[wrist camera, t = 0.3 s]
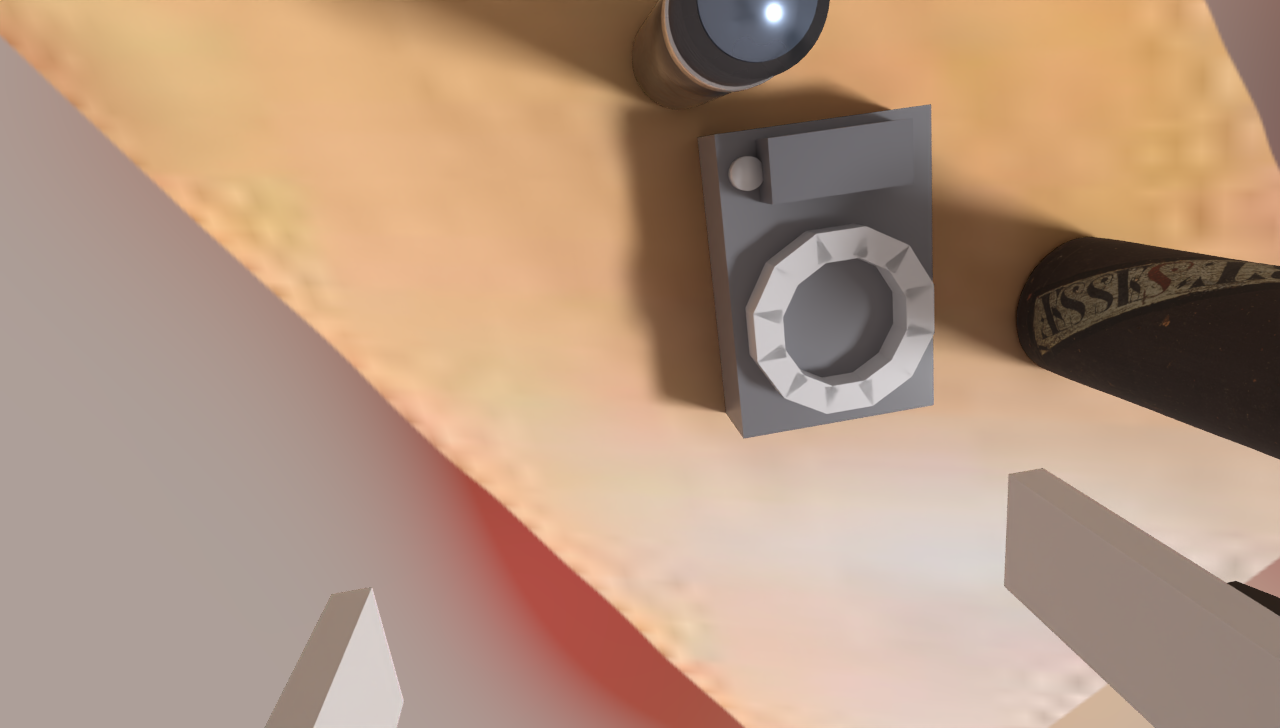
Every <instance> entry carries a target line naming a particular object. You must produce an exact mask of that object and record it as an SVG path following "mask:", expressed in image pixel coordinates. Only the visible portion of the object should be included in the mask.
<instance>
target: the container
mask: <svg viewBox="0 0 1280 728" xmlns="http://www.w3.org/2000/svg"><path fill="white" fill-rule="evenodd" d="M1017 332H1018V337H1019V340H1020V343H1021V346H1022V348H1023V349H1024V351H1025V353H1026V354H1027V355H1028V357H1029V358H1030V359H1031V360H1032V361H1033V362H1034V363H1036V364H1037V365H1039V366H1040V367H1042V368H1044V369H1046V370H1048V371H1051V372H1053V373H1055V374H1058V375H1060V376H1063V377H1065V378H1068V379H1070V380H1073V381H1076V382H1078V383H1081V384H1083V385H1086V386H1089V387H1091V388H1094V389H1097V390H1099V391H1102V392H1105V393H1108V394H1110V395H1113V396H1116V397H1119V398H1121V399H1124V400H1126V401H1129V402H1132V403H1134V404H1137V405H1139V406H1142V407H1145V408H1148V409H1150V410H1153V411H1155V412H1158V413H1160V414H1163V415H1165V416H1168V417H1170V418H1173V419H1176V420H1178V421H1181V422H1184V423H1186V424H1189V425H1191V426H1194V427H1197V428H1199V429H1202V430H1204V431H1207V432H1210V433H1212V434H1215V435H1217V436H1220V437H1222V438H1225V439H1228V440H1231V441H1233V442H1236V443H1239V444H1242V445H1244V446H1247V447H1250V448H1252V449H1255V450H1257V451H1260V452H1262V453H1264V454H1267V455H1270V456H1272V457H1275V458H1278V459H1280V266H1275V265H1268V264H1262V263H1255V262H1248V261H1242V260H1235V259H1228V258H1223V257H1217V256H1211V255H1205V254H1199V253H1193V252H1187V251H1180V250H1174V249H1168V248H1162V247H1156V246H1150V245H1144V244H1139V243H1132V242H1126V241H1120V240H1112V239H1105V238H1095V237H1084V238H1078V239H1074V240H1071V241H1069V242H1066V243H1064V244H1063V245H1061V246H1059V247H1057V248H1056V249H1055V250H1054V251H1052V252H1051V253H1050V254H1049V255H1047V256H1046V257H1045V258H1044V259H1043V260H1042V261H1041V262H1040V263H1039V265H1038V266H1037V267H1036V268H1035V269H1034V271H1033V272H1032V274H1031V275H1030V277H1029V279H1028V281H1027V283H1026V285H1025V287H1024V289H1023V291H1022V293H1021V296H1020V300H1019V304H1018V309H1017Z"/></svg>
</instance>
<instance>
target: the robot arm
mask: <svg viewBox="0 0 1280 728" xmlns="http://www.w3.org/2000/svg"><path fill="white" fill-rule="evenodd" d="M1004 586H1005V587H1006V588H1007V589H1008V590H1009V591H1010V592H1011V593H1012V594H1013V595H1014V596H1015V597H1016V598H1017V599H1018V600H1019V601H1021V602H1022V603H1023V604H1024V605H1025V606H1026V607H1027V608H1028V609H1029V610H1030V611H1031V612H1032V613H1033V614H1034V615H1035V616H1036V617H1038V618H1039V619H1040V620H1041V621H1042V622H1043V623H1044V624H1045V625H1046V626H1047V627H1048V628H1049V629H1050V630H1051V631H1052V632H1054V633H1055V634H1056V635H1057V636H1058V637H1059V638H1060V639H1061V640H1062V641H1063V642H1064V643H1065V644H1066V645H1067V646H1068V647H1070V648H1071V649H1072V650H1073V651H1074V652H1075V653H1076V654H1077V655H1078V656H1079V657H1080V658H1081V659H1082V660H1083V661H1084V662H1085V663H1087V664H1088V665H1089V666H1090V667H1091V668H1092V669H1093V670H1094V671H1095V672H1096V673H1097V674H1098V675H1099V676H1100V677H1101V678H1103V679H1104V680H1105V681H1106V682H1107V683H1108V684H1109V685H1110V686H1111V687H1112V688H1113V689H1114V690H1115V691H1116V692H1117V693H1119V694H1120V695H1121V696H1122V697H1123V698H1124V699H1125V700H1126V701H1127V702H1128V703H1129V704H1130V705H1131V706H1132V707H1133V708H1134V709H1136V710H1137V711H1138V712H1139V713H1140V714H1141V715H1142V716H1143V717H1144V718H1145V719H1146V720H1147V721H1148V722H1149V723H1151V724H1152V725H1153V726H1154V727H1155V728H1280V598H1278V597H1276V596H1273V595H1271V594H1268V593H1265V592H1263V591H1260V590H1258V589H1255V588H1253V587H1250V586H1248V585H1245V584H1242V583H1240V582H1237V581H1234V582H1229V583H1226V582H1224V581H1222V580H1221V579H1219V578H1218V577H1216V576H1214V575H1213V574H1211V573H1210V572H1208V571H1206V570H1205V569H1203V568H1202V567H1200V566H1198V565H1197V564H1195V563H1194V562H1192V561H1191V560H1189V559H1187V558H1186V557H1184V556H1183V555H1181V554H1179V553H1178V552H1176V551H1175V550H1173V549H1171V548H1170V547H1168V546H1167V545H1165V544H1163V543H1162V542H1160V541H1159V540H1157V539H1155V538H1154V537H1152V536H1151V535H1149V534H1147V533H1146V532H1144V531H1143V530H1141V529H1139V528H1138V527H1136V526H1135V525H1133V524H1131V523H1130V522H1128V521H1127V520H1125V519H1123V518H1122V517H1120V516H1119V515H1117V514H1115V513H1114V512H1112V511H1111V510H1109V509H1107V508H1106V507H1104V506H1103V505H1101V504H1099V503H1098V502H1096V501H1095V500H1093V499H1091V498H1090V497H1088V496H1087V495H1085V494H1083V493H1082V492H1080V491H1079V490H1077V489H1075V488H1074V487H1072V486H1071V485H1069V484H1067V483H1066V482H1064V481H1063V480H1061V479H1059V478H1058V477H1056V476H1055V475H1053V474H1051V473H1050V472H1048V471H1047V470H1045V469H1043V468H1041V469H1035V470H1030V471H1024V472H1018V473H1013V474H1009V479H1008V504H1007V529H1006V554H1005V578H1004ZM403 702H404V700H403V696H402V693H401V689H400V685H399V682H398V678H397V675H396V672H395V668H394V664H393V660H392V657H391V653H390V650H389V646H388V643H387V639H386V636H385V632H384V628H383V625H382V621H381V618H380V614H379V611H378V607H377V603H376V600H375V596H374V593H373V589H372V587H370V588H364V589H358V590H352V591H347V592H341V593H336V594H332V595H331V596H330V598H329V601H328V602H327V604H326V606H325V609H324V610H323V612H322V614H321V616H320V618H319V620H318V622H317V624H316V626H315V628H314V630H313V632H312V634H311V636H310V638H309V640H308V642H307V644H306V646H305V648H304V650H303V652H302V654H301V657H300V658H299V660H298V662H297V664H296V666H295V668H294V670H293V672H292V674H291V676H290V678H289V680H288V682H287V684H286V686H285V688H284V690H283V692H282V694H281V696H280V698H279V700H278V702H277V704H276V706H275V708H274V710H273V712H272V714H271V716H270V718H269V720H268V722H267V724H266V726H265V728H397V724H398V721H399V717H400V714H401V710H402V706H403Z"/></svg>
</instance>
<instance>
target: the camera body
mask: <svg viewBox="0 0 1280 728" xmlns="http://www.w3.org/2000/svg"><path fill="white" fill-rule="evenodd" d="M698 147H699V157H700V167H701V176H702V186H703V196H704V205H705V215H706V224H707V234H708V244H709V253H710V263H711V273H712V282H713V292H714V302H715V311H716V321H717V330H718V340H719V350H720V359H721V369H722V379H723V388H724V398H725V408H726V414H727V415H728V417H729V418H730V420H731V421H732V422H733V424H734V425H735V427H736V428H737V430H738V431H739V432H740V434H741V435H742V437H743V438H749V437H755V436H761V435H766V434H772V433H778V432H783V431H789V430H795V429H800V428H806V427H812V426H817V425H823V424H829V423H834V422H840V421H846V420H851V419H857V418H863V417H868V416H874V415H880V414H885V413H891V412H897V411H902V410H908V409H914V408H919V407H925V406H931V405H934V389H933V335H934V284H933V270H932V152H931V104H930V105H923V106H916V107H909V108H901V109H894V110H887V111H880V112H873V113H866V114H858V115H851V116H844V117H837V118H830V119H822V120H815V121H808V122H801V123H794V124H787V125H779V126H772V127H765V128H758V129H751V130H744V131H736V132H729V133H722V134H715V135H709V136H703V137H698Z"/></svg>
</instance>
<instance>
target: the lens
mask: <svg viewBox="0 0 1280 728" xmlns="http://www.w3.org/2000/svg"><path fill="white" fill-rule="evenodd" d="M829 1H830V0H658V2H657V3H656V5H655V7H654V8H653V10H652V11H651V13H650V14H649V16H648V17H647V19H646V20H645V22H644V23H643V25H642V26H641V28H640V29H639V31H638V33H637V35H636V38H635V41H634V44H633V50H632V65H633V71H634V74H635V77H636V80H637V82H638V84H639V86H640V87H641V89H642V90H643V92H644V93H645V94H646V95H647V96H648V97H649V98H650V99H651V100H653V101H654V102H655V103H657V104H659V105H661V106H663V107H666V108H670V109H676V110H682V109H689V108H693V107H696V106H698V105H701V104H703V103H706V102H708V101H711V100H714V99H716V98H719V97H721V96H724V95H726V94H729V93H731V92H737V91H742V90H746V89H749V88H752V87H754V86H757V85H760V84H762V83H764V82H766V81H767V80H769V79H771V78H772V77H773V76H775V75H777V74H780V73H782V72H784V71H786V70H788V69H790V68H791V67H793V66H794V65H795V64H797V63H798V62H799V61H800V60H801V59H802V58H804V57H805V56H806V54H807V53H808V52H809V51H810V50H811V49H812V47H813V46H814V44H815V43H816V41H817V40H818V38H819V36H820V34H821V32H822V29H823V27H824V24H825V21H826V18H827V13H828V9H829Z"/></svg>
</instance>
